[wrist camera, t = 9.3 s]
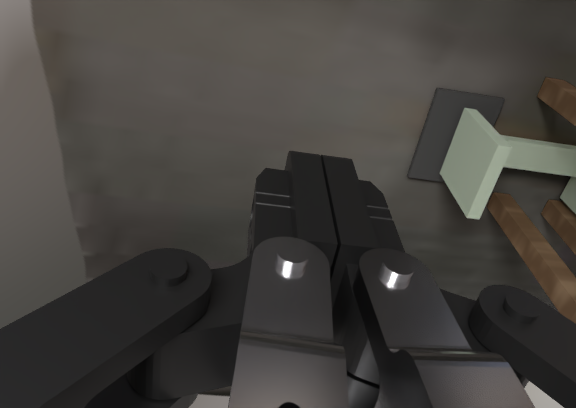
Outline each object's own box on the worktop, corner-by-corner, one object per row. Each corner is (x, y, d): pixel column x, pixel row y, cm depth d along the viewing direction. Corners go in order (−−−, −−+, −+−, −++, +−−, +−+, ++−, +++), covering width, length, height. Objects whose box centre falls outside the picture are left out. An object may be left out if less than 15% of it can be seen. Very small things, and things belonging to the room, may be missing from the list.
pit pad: (436, 87, 39) (438, 89, 39) (502, 97, 40) (504, 99, 39) (407, 175, 43) (408, 177, 43) (467, 183, 44) (468, 185, 43)
